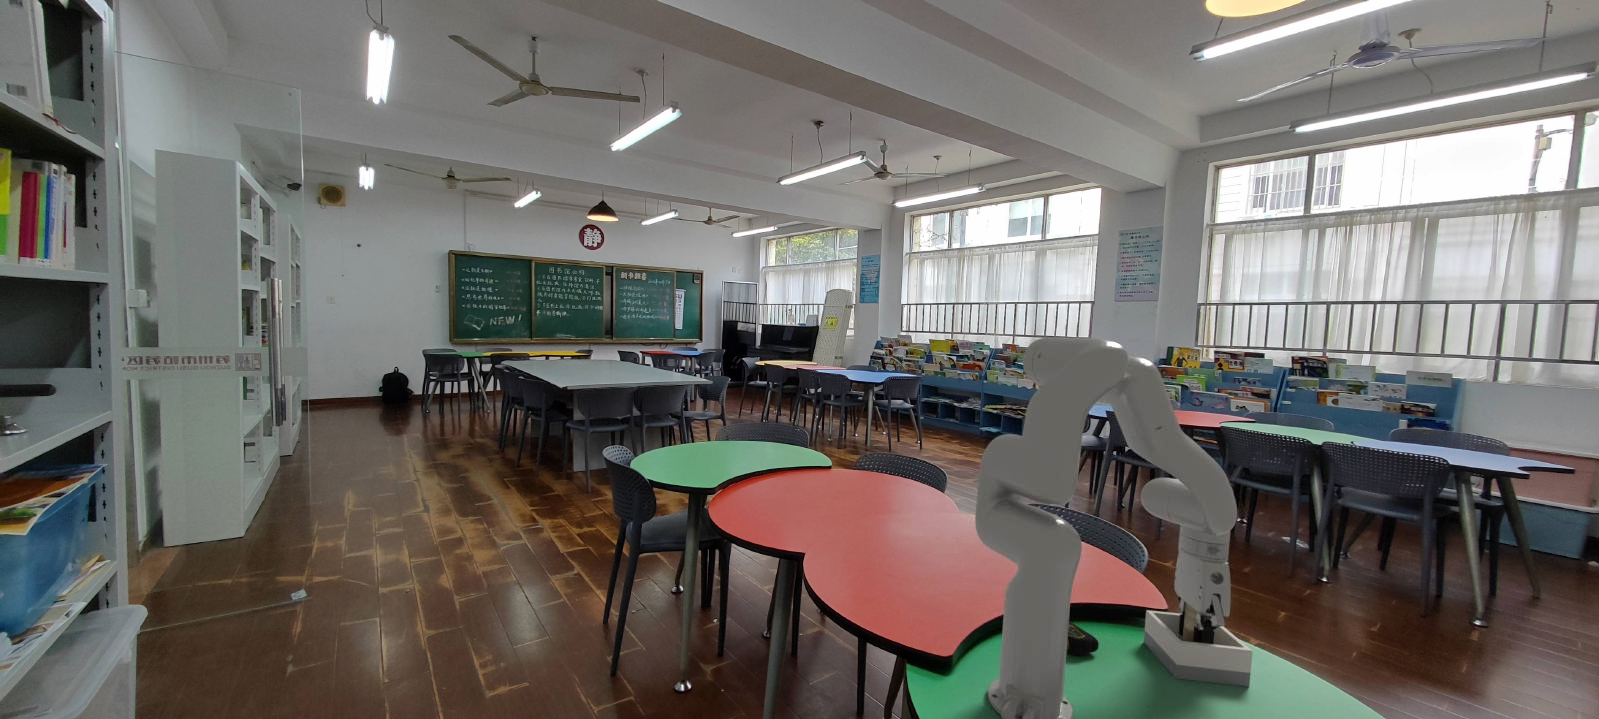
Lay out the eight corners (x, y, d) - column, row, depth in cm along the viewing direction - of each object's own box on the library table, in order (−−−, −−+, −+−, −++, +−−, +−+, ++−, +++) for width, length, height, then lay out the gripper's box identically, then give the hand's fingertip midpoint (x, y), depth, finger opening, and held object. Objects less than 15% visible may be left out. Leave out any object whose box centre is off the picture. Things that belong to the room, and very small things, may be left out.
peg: (1208, 662, 104) (1213, 608, 103) (1181, 654, 106) (1186, 601, 105) (1207, 652, 107) (1212, 600, 106) (1181, 645, 109) (1186, 594, 109)
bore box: (1249, 686, 100) (1252, 650, 99) (1175, 678, 101) (1178, 642, 101) (1208, 649, 112) (1211, 616, 111) (1143, 642, 113) (1146, 610, 113)
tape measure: (1099, 656, 107) (1101, 637, 107) (1070, 661, 105) (1072, 641, 105) (1072, 637, 114) (1073, 619, 114) (1044, 641, 112) (1045, 623, 111)
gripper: (1255, 566, 96) (1246, 671, 97) (1199, 532, 113) (1191, 622, 114) (1207, 562, 97) (1199, 666, 98) (1158, 529, 114) (1151, 618, 115)
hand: (1195, 641), depth 106 cm, fingers closed on peg, 4 cm apart
